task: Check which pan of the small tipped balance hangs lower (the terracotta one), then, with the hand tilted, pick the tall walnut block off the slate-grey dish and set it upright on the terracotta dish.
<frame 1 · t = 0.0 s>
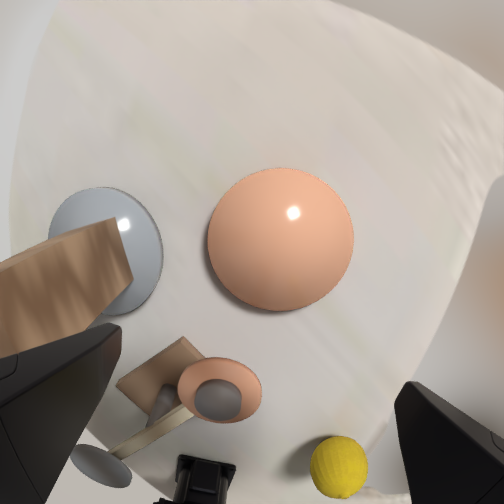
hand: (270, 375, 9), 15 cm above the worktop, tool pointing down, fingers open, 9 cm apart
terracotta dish: (280, 239, 23), on the worktop
balance: (171, 382, 27), on the worktop
lemon: (332, 436, 29), on the worktop
slate dish: (104, 250, 23), on the worktop
walnut block: (97, 255, 22), point 1 cm above the worktop, touching slate dish
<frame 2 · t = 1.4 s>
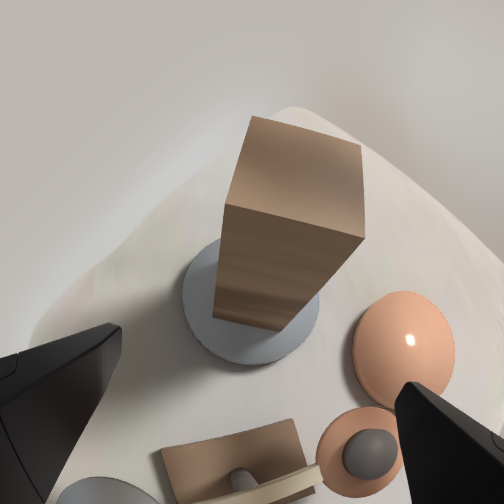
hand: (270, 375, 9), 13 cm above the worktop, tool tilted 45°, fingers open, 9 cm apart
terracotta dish: (404, 351, 23), on the worktop
balance: (238, 474, 18), on the worktop
slate dish: (250, 299, 24), on the worktop
walnut block: (252, 293, 23), point 1 cm above the worktop, touching slate dish
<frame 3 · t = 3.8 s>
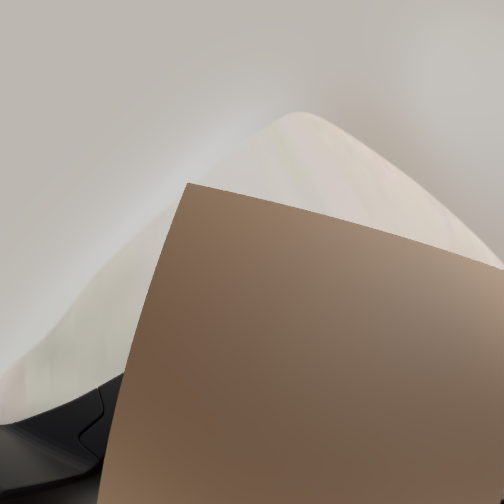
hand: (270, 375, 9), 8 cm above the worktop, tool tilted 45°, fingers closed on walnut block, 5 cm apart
walnut block: (237, 415, 14), point 1 cm above the worktop, touching gripper, slate dish
when the fingers open (9 cm above the worktop, at t = 7.4 s): walnut block drops 1 cm, resting on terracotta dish.
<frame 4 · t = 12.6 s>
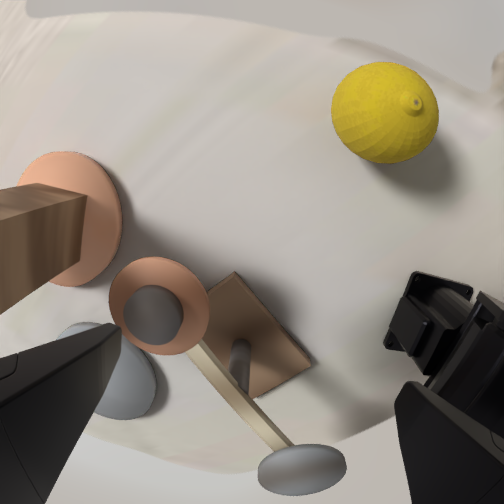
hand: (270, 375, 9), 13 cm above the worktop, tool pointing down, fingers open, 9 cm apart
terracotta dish: (65, 218, 21), on the worktop
balance: (242, 340, 23), on the worktop
lemon: (360, 121, 19), on the worktop
slate dish: (104, 371, 25), on the worktop
walnut block: (57, 221, 20), point 1 cm above the worktop, touching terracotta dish
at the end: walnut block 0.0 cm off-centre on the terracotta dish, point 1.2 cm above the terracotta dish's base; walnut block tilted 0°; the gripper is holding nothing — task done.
